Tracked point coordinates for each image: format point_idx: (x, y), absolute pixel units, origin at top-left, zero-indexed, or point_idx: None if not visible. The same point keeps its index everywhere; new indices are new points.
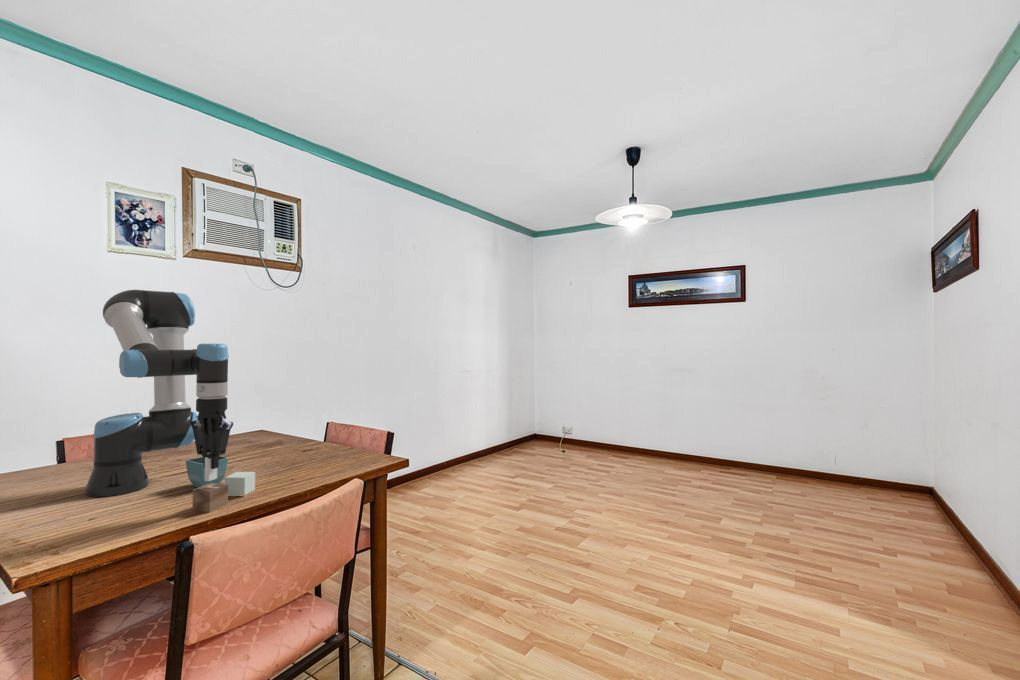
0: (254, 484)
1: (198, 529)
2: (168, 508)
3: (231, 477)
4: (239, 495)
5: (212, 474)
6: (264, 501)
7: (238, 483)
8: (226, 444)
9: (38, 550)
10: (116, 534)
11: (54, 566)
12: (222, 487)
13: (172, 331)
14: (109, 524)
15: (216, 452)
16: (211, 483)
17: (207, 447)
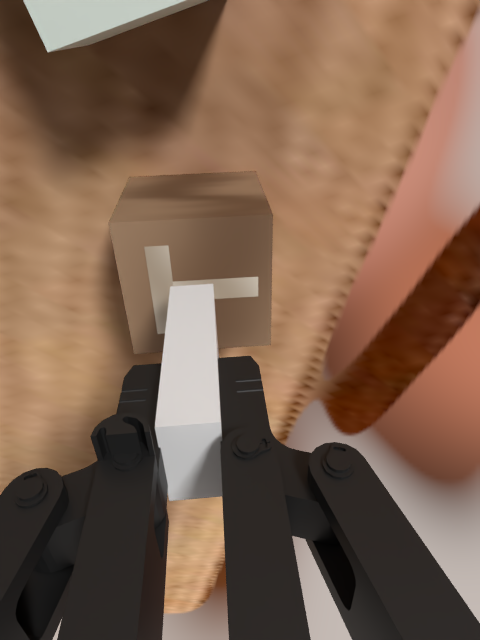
0: None
1: (360, 400)
2: (6, 307)
3: (107, 26)
4: (192, 5)
5: (217, 346)
6: (437, 32)
7: (180, 5)
8: (442, 583)
9: None
10: None
11: (207, 586)
12: (270, 259)
13: None
14: (9, 465)
15: (332, 550)
16: (119, 231)
17: (161, 604)
